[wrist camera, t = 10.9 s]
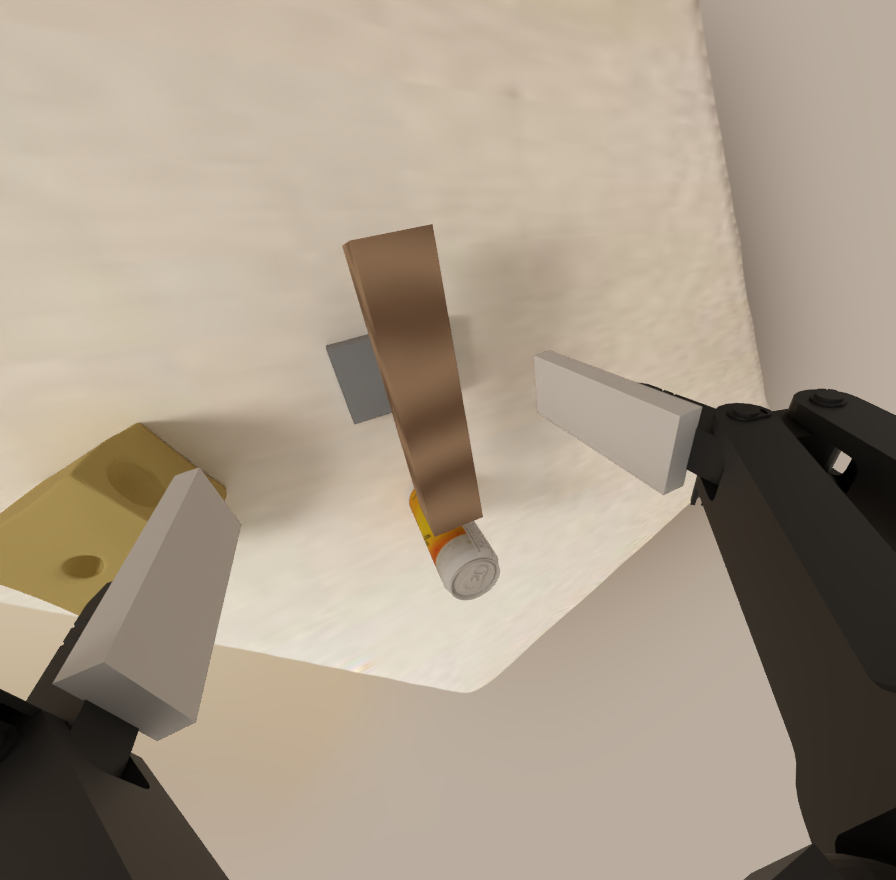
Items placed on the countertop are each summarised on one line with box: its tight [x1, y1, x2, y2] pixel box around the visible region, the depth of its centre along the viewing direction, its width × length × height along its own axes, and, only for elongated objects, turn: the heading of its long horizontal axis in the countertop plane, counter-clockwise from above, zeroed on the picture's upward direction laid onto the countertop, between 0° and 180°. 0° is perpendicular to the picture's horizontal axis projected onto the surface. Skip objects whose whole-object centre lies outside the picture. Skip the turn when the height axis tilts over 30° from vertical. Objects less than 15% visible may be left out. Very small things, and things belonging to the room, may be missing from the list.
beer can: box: [409, 489, 500, 600], centre depth 39 cm, size 6×6×15 cm
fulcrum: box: [326, 334, 392, 424], centre depth 33 cm, size 8×12×8 cm, turn 101°
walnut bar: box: [343, 225, 483, 537], centre depth 28 cm, size 24×5×5 cm, turn 11°
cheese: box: [0, 423, 226, 616], centre depth 28 cm, size 10×11×10 cm
